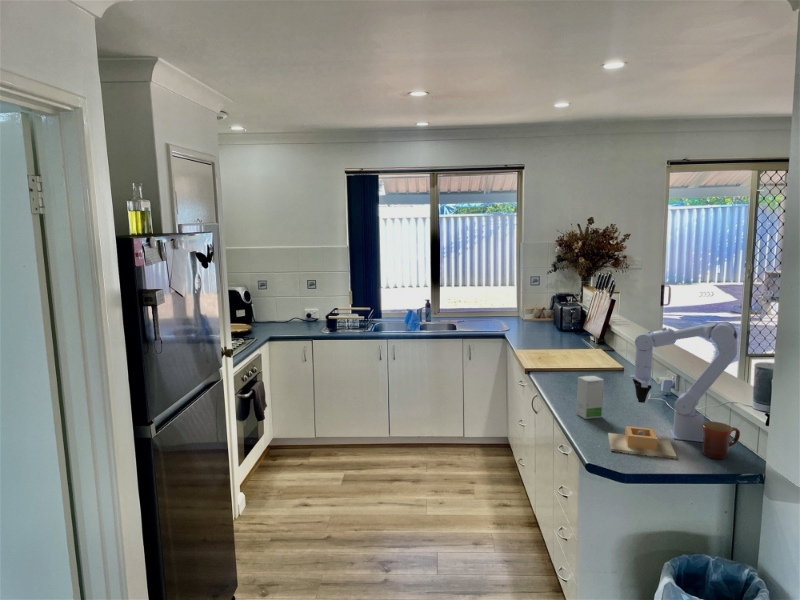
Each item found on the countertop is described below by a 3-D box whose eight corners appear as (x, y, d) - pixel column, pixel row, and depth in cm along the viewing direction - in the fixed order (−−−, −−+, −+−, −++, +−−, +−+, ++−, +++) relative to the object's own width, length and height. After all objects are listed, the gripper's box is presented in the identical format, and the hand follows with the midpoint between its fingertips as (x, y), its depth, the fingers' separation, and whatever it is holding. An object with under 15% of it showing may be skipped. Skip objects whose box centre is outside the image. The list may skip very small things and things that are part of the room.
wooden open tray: (652, 439, 185) (653, 428, 184) (656, 450, 176) (657, 438, 176) (625, 436, 188) (625, 426, 187) (627, 446, 179) (628, 435, 178)
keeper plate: (668, 442, 185) (670, 426, 184) (676, 459, 172) (677, 442, 171) (608, 435, 191) (608, 420, 190) (610, 451, 178) (611, 435, 177)
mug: (709, 462, 170) (712, 431, 168) (693, 450, 178) (696, 421, 177) (746, 461, 170) (748, 431, 169) (728, 449, 179) (731, 420, 177)
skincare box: (584, 419, 207) (586, 381, 204) (574, 413, 213) (576, 376, 211) (603, 417, 209) (605, 379, 207) (592, 411, 215) (594, 374, 213)
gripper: (629, 359, 203) (627, 393, 205) (633, 369, 190) (631, 405, 192) (649, 360, 201) (646, 394, 203) (655, 371, 188) (652, 407, 190)
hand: (640, 400), depth 197 cm, fingers open, 4 cm apart
